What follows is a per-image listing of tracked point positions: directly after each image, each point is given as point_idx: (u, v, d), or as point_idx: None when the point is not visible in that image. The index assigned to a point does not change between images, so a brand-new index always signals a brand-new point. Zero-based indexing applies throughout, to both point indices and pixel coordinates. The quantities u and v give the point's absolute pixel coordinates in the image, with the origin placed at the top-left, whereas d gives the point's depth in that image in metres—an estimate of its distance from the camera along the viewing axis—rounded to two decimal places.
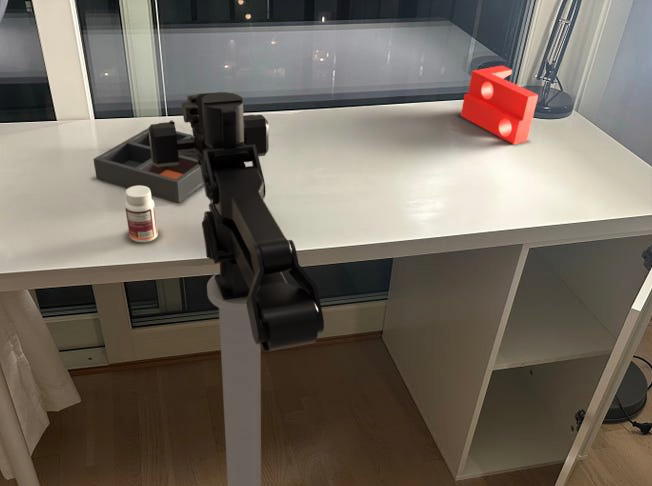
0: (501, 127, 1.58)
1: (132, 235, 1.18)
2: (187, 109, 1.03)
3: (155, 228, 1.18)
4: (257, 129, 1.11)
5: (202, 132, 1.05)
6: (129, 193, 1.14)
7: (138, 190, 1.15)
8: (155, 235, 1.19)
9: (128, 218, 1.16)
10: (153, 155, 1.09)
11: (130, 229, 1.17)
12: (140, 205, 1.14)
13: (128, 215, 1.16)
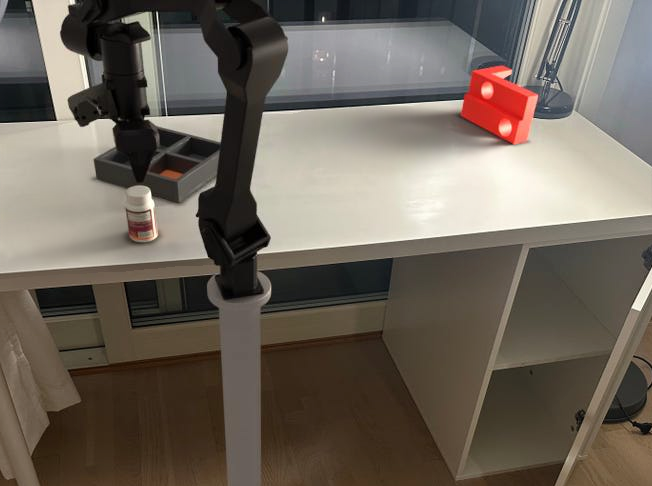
0: (501, 127, 1.58)
1: (132, 235, 1.18)
2: (79, 102, 0.99)
3: (155, 228, 1.18)
4: None
5: (103, 94, 1.01)
6: (129, 193, 1.14)
7: (138, 190, 1.15)
8: (155, 235, 1.19)
9: (128, 218, 1.16)
10: (143, 134, 1.00)
11: (130, 229, 1.17)
12: (140, 205, 1.14)
13: (128, 215, 1.16)
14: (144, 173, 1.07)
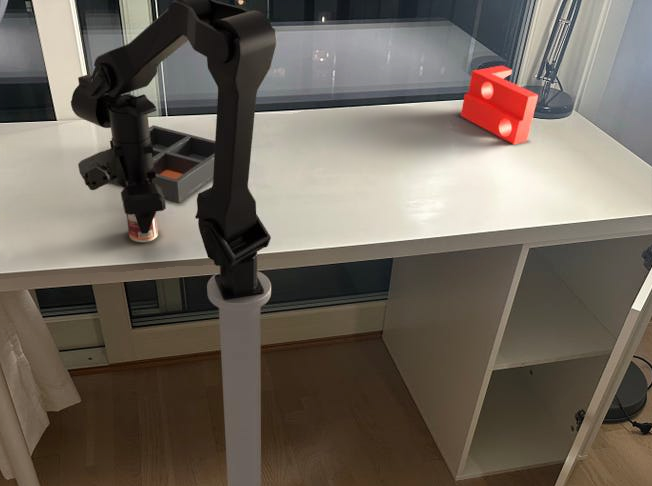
0: (501, 127, 1.58)
1: (131, 235, 1.18)
2: (90, 169, 1.06)
3: (155, 228, 1.18)
4: None
5: (112, 160, 1.08)
6: None
7: None
8: (155, 235, 1.19)
9: (128, 218, 1.16)
10: (150, 198, 1.06)
11: (130, 229, 1.17)
12: None
13: (128, 215, 1.16)
14: (149, 225, 1.15)
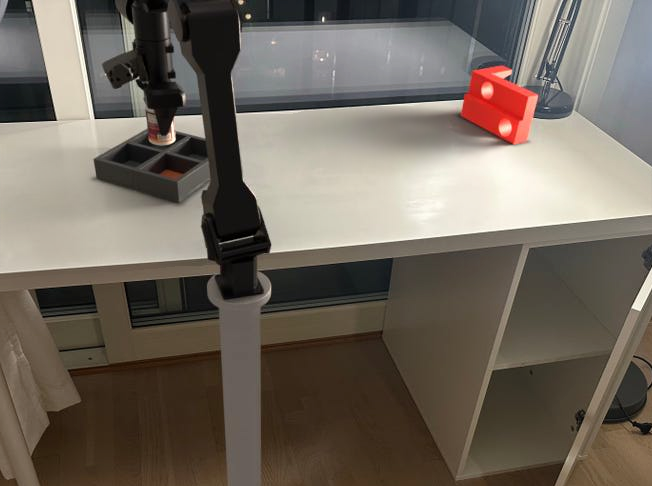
0: (501, 127, 1.58)
1: (151, 138, 1.24)
2: (114, 65, 1.11)
3: (173, 132, 1.24)
4: None
5: (135, 58, 1.14)
6: None
7: None
8: (173, 139, 1.25)
9: (148, 120, 1.22)
10: (172, 93, 1.12)
11: (150, 132, 1.23)
12: None
13: (148, 117, 1.21)
14: (168, 126, 1.21)
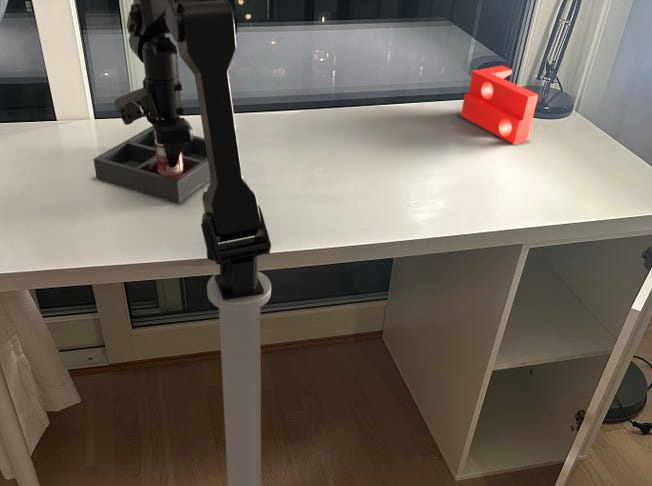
0: (501, 127, 1.58)
1: (160, 170, 1.30)
2: (126, 103, 1.18)
3: (181, 163, 1.31)
4: None
5: (145, 96, 1.20)
6: None
7: None
8: (181, 170, 1.31)
9: (157, 153, 1.28)
10: (180, 129, 1.18)
11: (159, 164, 1.29)
12: None
13: (157, 150, 1.28)
14: (176, 159, 1.28)
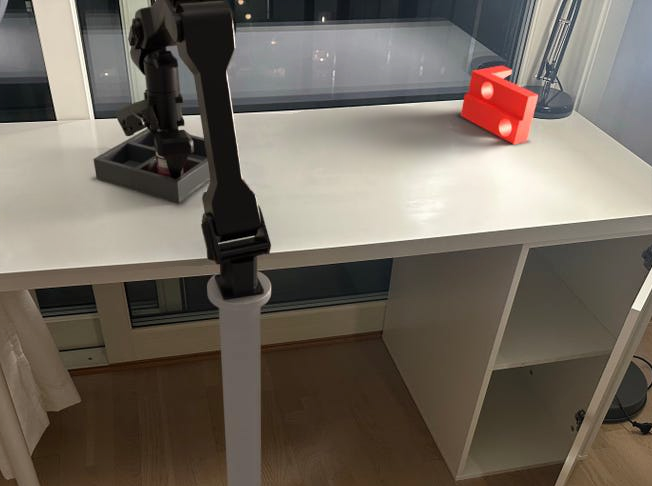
0: (501, 127, 1.58)
1: None
2: (127, 115, 1.19)
3: None
4: None
5: (146, 108, 1.22)
6: None
7: None
8: None
9: (158, 165, 1.30)
10: (181, 141, 1.20)
11: None
12: None
13: (159, 162, 1.29)
14: (179, 173, 1.28)
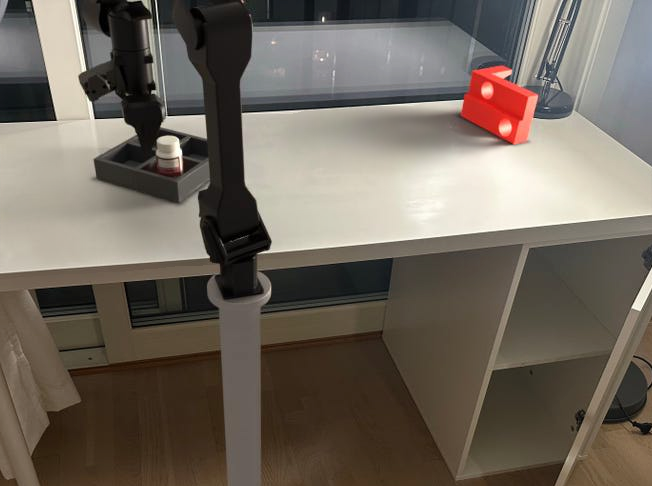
0: (501, 127, 1.58)
1: None
2: (89, 76, 1.05)
3: None
4: None
5: (112, 69, 1.07)
6: (160, 142, 1.27)
7: (168, 139, 1.28)
8: None
9: (158, 165, 1.30)
10: (150, 106, 1.05)
11: None
12: (170, 152, 1.28)
13: (159, 162, 1.29)
14: (151, 146, 1.13)
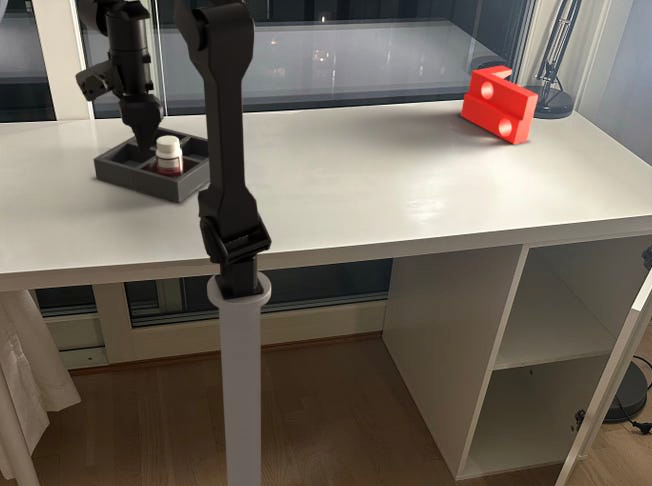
0: (501, 127, 1.58)
1: None
2: (87, 76, 1.04)
3: None
4: None
5: (110, 69, 1.07)
6: (160, 142, 1.27)
7: (168, 139, 1.28)
8: None
9: (158, 165, 1.30)
10: (148, 106, 1.05)
11: None
12: (170, 152, 1.28)
13: (159, 162, 1.29)
14: (148, 146, 1.13)
